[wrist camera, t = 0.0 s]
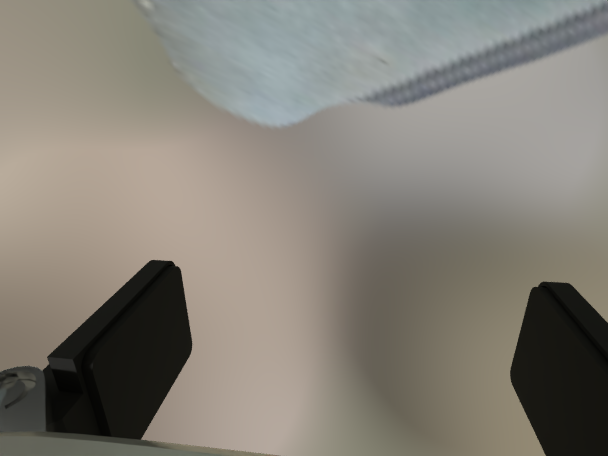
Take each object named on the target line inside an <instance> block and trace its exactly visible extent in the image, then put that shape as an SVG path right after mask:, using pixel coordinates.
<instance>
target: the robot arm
mask: <svg viewBox="0 0 608 456" xmlns="http://www.w3.org/2000/svg"><path fill="white" fill-rule="evenodd" d="M191 350H192V338H191V332H190V326H189V320H188V313H187V307H186V300H185V294H184V288H183V281H182V275H181V270H180V268H179V267H178V266H175V264H174V263H173V262H172V261H161V260H151V261H149V262H148V263H147V264H146V265H145V266H144V267H143V268H142V269H141V270H140V271H139V272H138V273H137V274H136V275H134V276H133V277H132V278H131V279H130V280H129V281H128V282H127V283H126V284H125V285H124V286H123V287H122V288H120V289H119V290H118V291H117V292H116V293H115V294H114V295H113V296H112V297H111V298H110V299H109V300H108V301H106V302H105V303H104V304H103V305H102V306H101V307H100V308H99V309H98V310H97V311H96V312H95V313H94V314H93V315H92V316H90V317H89V318H88V319H87V320H86V321H85V322H84V323H83V324H82V325H81V326H80V327H79V328H78V329H77V330H75V331H74V332H73V333H72V334H71V335H70V336H69V337H68V338H67V339H66V340H65V341H64V342H63V343H62V344H60V346H58V347H57V348H56V349H55V350H54V351H53V352H52V353H51V354H50V355H49V356H48V357H47V358H48V361H49V365H48V366H47V367H46V368H45V369H44V370H43V371H42V370H40V369H39V368H37V367H32V366H21V367H14V368H10V369H7V370H3V371H1V372H0V456H277V455H270V454H261V453H252V452H244V451H235V450H226V449H217V448H209V447H200V446H191V445H181V444H173V443H165V442H156V441H147V440H141V438H142V437H143V435H144V433H145V431H146V430H147V428H148V426H149V424H150V423H151V421H152V419H153V417H154V416H155V414H156V413H157V411H158V409H159V407H160V406H161V404H162V402H163V401H164V399H165V397H166V396H167V394H168V392H169V390H170V389H171V387H172V385H173V384H174V382H175V380H176V378H177V377H178V375H179V373H180V372H181V370H182V368H183V366H184V365H185V363H186V361H187V359H188V358H189V356H190V354H191ZM510 376H511V382H512V385H513V387H514V389H515V391H516V394H517V396H518V398H519V400H520V402H521V404H522V406H523V408H524V410H525V413H526V415H527V417H528V419H529V421H530V423H531V425H532V427H533V429H534V431H535V434H536V436H537V438H538V440H539V442H540V444H541V446H542V448H543V450H544V453H545V455H546V456H608V323H607V322H606V321H605V320H604V319H603V318H602V317H601V315H600V314H599V313H598V312H597V311H596V310H595V309H594V308H593V307H592V306H591V305H590V304H589V303H588V302H587V301H586V300H585V299H584V298H583V297H582V296H581V295H580V294H579V292H578V291H577V290H576V289H575V288H574V287H573V286H572V285H570V284H569V283H558V282H542V283H540V285H539V286H538V287H534V288H532V290H531V292H530V296H529V299H528V303H527V307H526V311H525V315H524V319H523V323H522V327H521V331H520V334H519V338H518V342H517V346H516V350H515V354H514V358H513V362H512V366H511V371H510Z"/></svg>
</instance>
